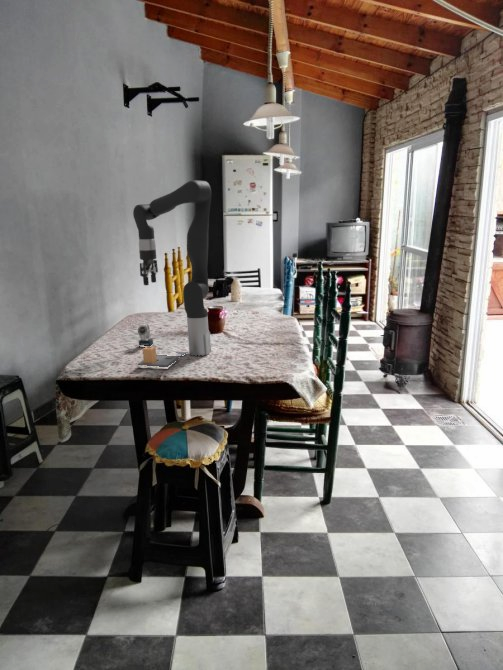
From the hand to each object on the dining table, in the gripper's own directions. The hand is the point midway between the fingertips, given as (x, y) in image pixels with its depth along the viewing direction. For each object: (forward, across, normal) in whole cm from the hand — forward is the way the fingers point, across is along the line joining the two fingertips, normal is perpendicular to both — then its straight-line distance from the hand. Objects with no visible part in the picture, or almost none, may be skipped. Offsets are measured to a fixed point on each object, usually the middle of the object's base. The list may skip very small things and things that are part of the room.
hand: (150, 283), depth 241 cm
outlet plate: (+30, -28, -14) cm, 43 cm away
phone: (+31, -13, -14) cm, 36 cm away
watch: (+30, -2, +4) cm, 31 cm away
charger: (+30, -30, -11) cm, 44 cm away
